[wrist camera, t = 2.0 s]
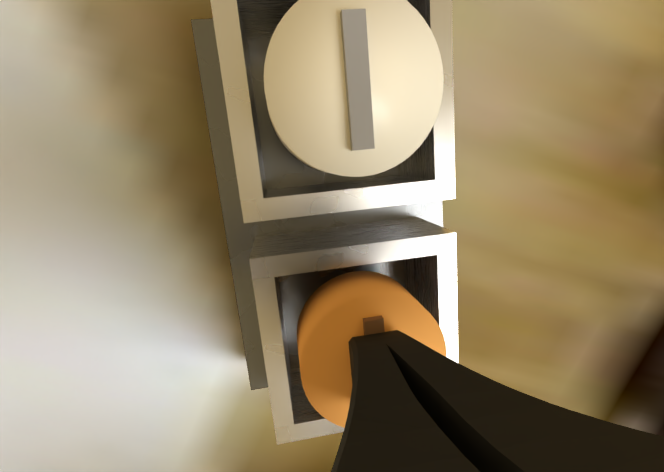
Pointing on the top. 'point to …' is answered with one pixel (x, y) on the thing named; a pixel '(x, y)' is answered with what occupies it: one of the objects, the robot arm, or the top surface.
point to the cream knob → (353, 83)
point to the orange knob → (353, 333)
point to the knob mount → (316, 207)
